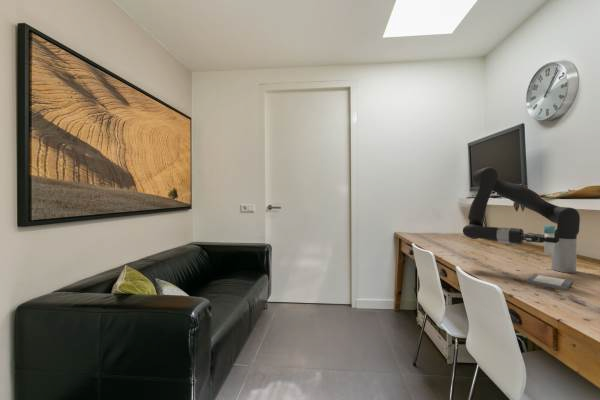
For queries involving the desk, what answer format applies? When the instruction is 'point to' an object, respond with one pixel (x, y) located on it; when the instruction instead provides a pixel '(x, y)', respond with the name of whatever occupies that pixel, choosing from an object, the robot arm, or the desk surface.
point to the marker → (549, 246)
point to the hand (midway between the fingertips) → (558, 240)
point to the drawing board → (549, 281)
